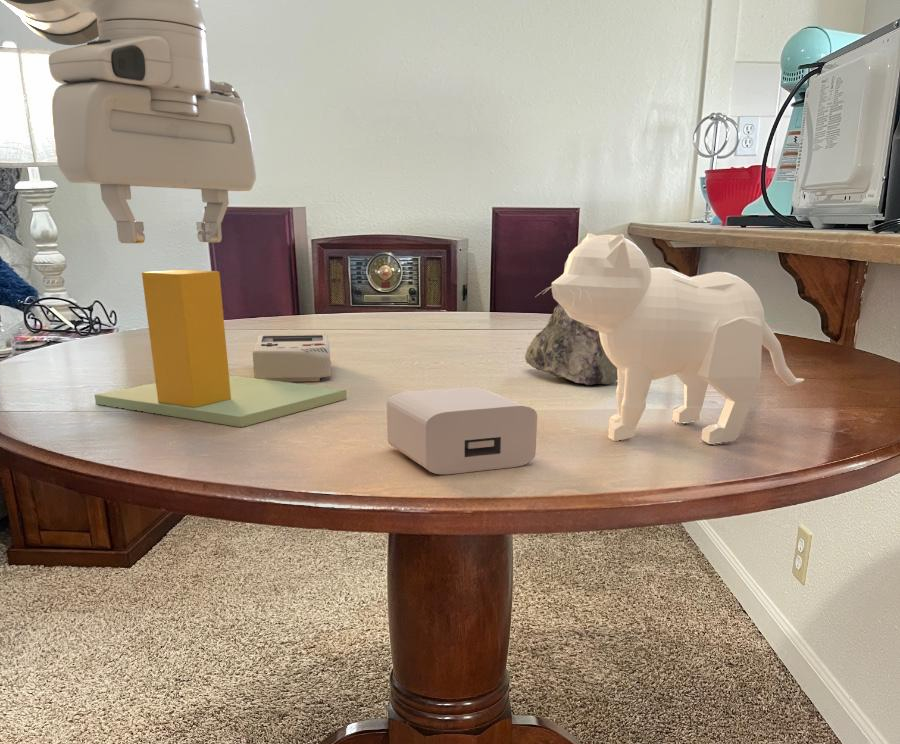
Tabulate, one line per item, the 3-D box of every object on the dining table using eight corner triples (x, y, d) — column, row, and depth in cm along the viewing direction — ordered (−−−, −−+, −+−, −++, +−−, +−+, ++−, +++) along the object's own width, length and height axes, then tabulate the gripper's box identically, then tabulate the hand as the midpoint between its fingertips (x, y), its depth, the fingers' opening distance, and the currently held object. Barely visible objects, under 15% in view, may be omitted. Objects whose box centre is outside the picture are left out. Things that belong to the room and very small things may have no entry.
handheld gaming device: (254, 383, 102) (251, 349, 101) (260, 363, 116) (258, 332, 114) (331, 383, 104) (330, 349, 102) (328, 363, 117) (328, 333, 115)
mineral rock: (521, 369, 112) (524, 285, 108) (606, 368, 113) (612, 285, 109) (535, 387, 101) (539, 294, 97) (628, 387, 101) (636, 294, 97)
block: (157, 402, 87) (141, 272, 82) (195, 394, 91) (181, 269, 86) (194, 407, 85) (179, 274, 80) (231, 399, 89) (219, 271, 84)
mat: (95, 404, 91) (94, 394, 91) (209, 381, 104) (208, 372, 103) (241, 427, 82) (240, 416, 81) (346, 398, 94) (346, 389, 94)
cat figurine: (765, 415, 87) (792, 231, 80) (827, 440, 78) (863, 234, 71) (520, 426, 83) (526, 231, 76) (554, 453, 73) (565, 234, 66)
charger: (459, 425, 82) (535, 464, 70) (364, 434, 79) (426, 477, 67) (459, 374, 81) (538, 404, 68) (362, 380, 77) (426, 413, 65)
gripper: (216, 87, 86) (227, 240, 92) (29, 53, 70) (56, 242, 75) (266, 83, 83) (274, 242, 89) (82, 48, 67) (106, 245, 72)
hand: (172, 242), depth 82 cm, fingers open, 8 cm apart
